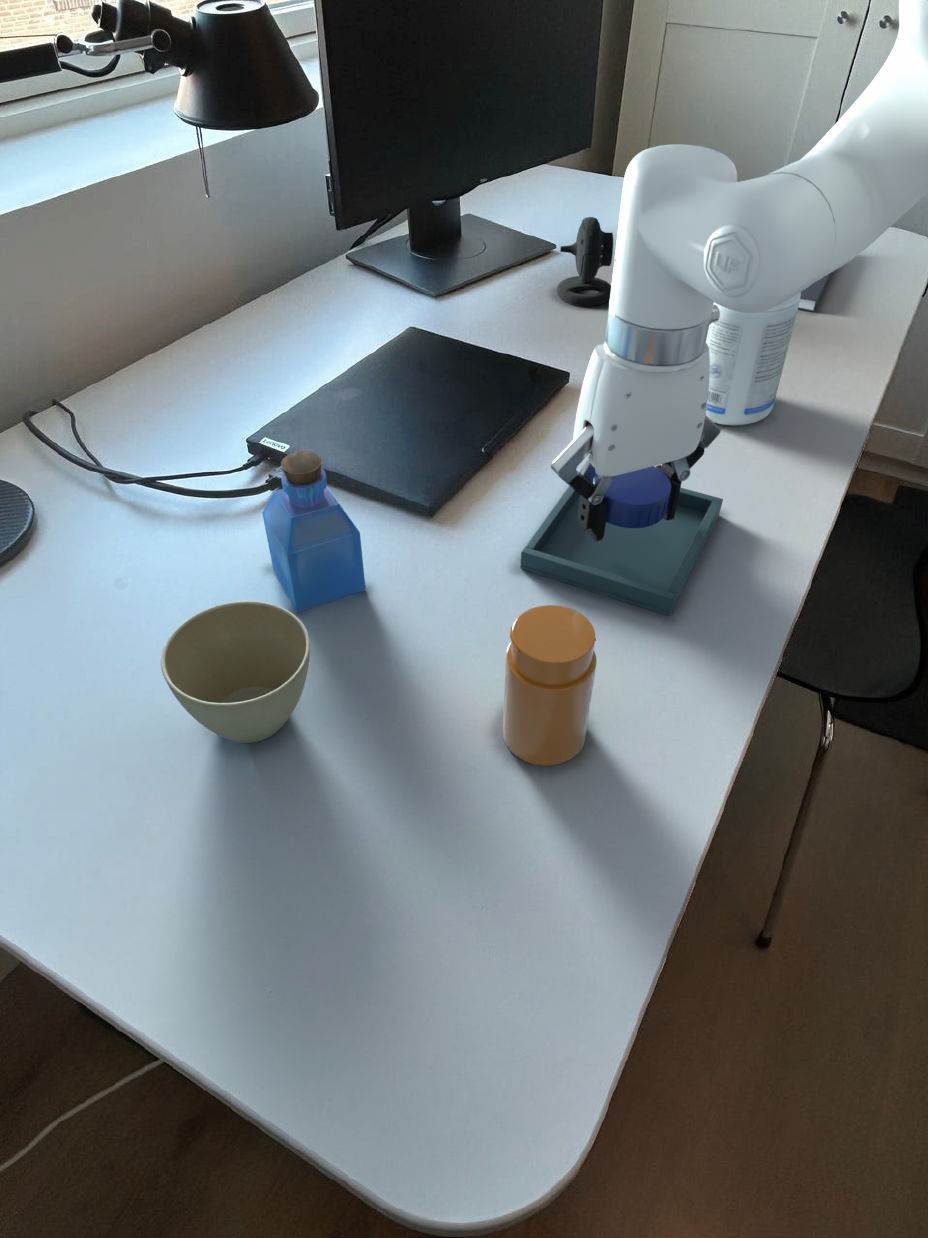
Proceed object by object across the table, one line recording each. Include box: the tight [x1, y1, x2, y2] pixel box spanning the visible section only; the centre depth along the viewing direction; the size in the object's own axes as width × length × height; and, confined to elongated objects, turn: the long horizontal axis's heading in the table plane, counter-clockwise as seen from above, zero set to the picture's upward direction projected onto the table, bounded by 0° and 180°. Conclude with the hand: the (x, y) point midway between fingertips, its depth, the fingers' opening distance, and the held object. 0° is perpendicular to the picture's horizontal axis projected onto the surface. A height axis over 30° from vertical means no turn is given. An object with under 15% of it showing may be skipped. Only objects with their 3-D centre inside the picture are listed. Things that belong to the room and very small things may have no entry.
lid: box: [593, 466, 671, 528], centre depth 77 cm, size 7×7×2 cm
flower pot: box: [160, 600, 311, 744], centre depth 63 cm, size 10×10×7 cm
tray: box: [519, 465, 724, 617], centre depth 79 cm, size 16×14×2 cm
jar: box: [502, 604, 597, 767], centre depth 60 cm, size 6×6×10 cm
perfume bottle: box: [262, 450, 367, 613], centre depth 72 cm, size 6×6×12 cm
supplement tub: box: [706, 292, 801, 426], centre depth 92 cm, size 10×10×15 cm
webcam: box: [556, 216, 614, 307], centre depth 115 cm, size 8×8×10 cm
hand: (626, 520), depth 78 cm, fingers closed on lid, 6 cm apart
